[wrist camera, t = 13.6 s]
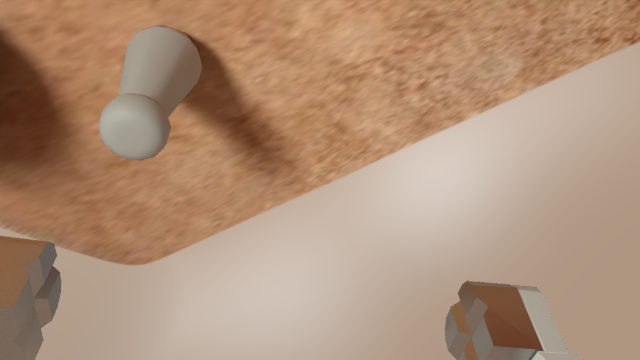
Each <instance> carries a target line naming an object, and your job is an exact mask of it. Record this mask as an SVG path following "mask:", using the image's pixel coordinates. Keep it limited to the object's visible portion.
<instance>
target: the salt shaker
mask: <svg viewBox="0 0 640 360" xmlns="http://www.w3.org/2000/svg"><path fill="white" fill-rule="evenodd" d="M201 71H202V64H201V60H200V56H199V52H198V49H197V48H196V47H195V45H194V44H193V43H192V41H191V40H190V39H189V37H188V36H187V35H186V33H184V32H181V31H178V30H175V29H173V28H169V27H166V26H163V25H161V26H153V27H150V28H147V29H144V30H141V31H139V32H138V33H137V34H136V36H135V37H134V38H133V39H132V40H131V41H130V42H129V43H128V45H127V50H126V55H125V62H124V67H123V73H122V79H121V85H120V90H119V96H118V97H116V98H114V99H113V100H112V101H111V102H110V103H109V104H108V105H107V106H106V107H105V108H104V110H103V111H102V114H101V119H100V126H99V133H100V135H101V138H102V141H103V143H104V144H105V145H106V146H107V147H108V148H109V149H110V150H111V151H112V152H113V153H115V154H117V155H119V156H122V157H124V158H126V159H131V160H145V159H149V158H152V157H155V156H156V155H157V154H158V153H159V152H160V151H161V150H162V149H163V148H164V147H165V145H166V144H167V140H168V137H169V133H170V128H171V126H170V122H169V119H168V117H169V116H170V115H171V113H172V112H173V111H174V110H175V108H176V107H177V106H178V105H179V104H180V103H181V101H182V100H183V99H184V98H185V97H186V96H187V94H188V93H189V92H190V91H191V90H192V89H193V87H194V86H195V85H196V84H197V83H198V80H199V77H200V74H201Z"/></svg>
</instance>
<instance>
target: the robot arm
mask: <svg viewBox="0 0 640 360" xmlns="http://www.w3.org/2000/svg"><path fill="white" fill-rule="evenodd" d="M56 257H57V254H56V250H55V245H54V243H51V242H46V241H38V240H29V239H20V238H12V237H4V236H0V360H35V358H36V355H37V353H38V351H39V349H40V346H41V344H42V342H43V336H42V332H41V328H42V327H43V326H45V325H46V324H47V323H49V322H50V321H51V320H52V319H53V316H54V314H55V312H56V309H57V307H58V302H59V298H60V293H61V278H60V272H59V271H58V270H57V269H56V268H54V267H53V266H52V265H53V263H54V261H55V259H56ZM458 294H459V297H460V301H459V302H458V303H456V304H454V305H453V306H452V307H451V308H450V310H449V313H448V315H447V317H446V325H445V337H446V343H447V347H448V351H449V352H450V353H451V354H452V355H453V356H454V357H455V358H456V359H457V360H583V359H581V358H580V357H579V356H578V355H577V354H571V353H569V351H568V349H567V347H566V345H565V343H564V341H563V338H562V336H561V334H560V332H559V330H558V328H557V325H556V323H555V321H554V319H553V317H552V315H551V313H550V310H549V309H548V306H547V304H546V302H545V300H544V298H543V295H542V293H541V291H540V290H539V289H538V288H536V287H530V286H518V285H509V284H497V283H484V282H472V281H466V282H465V283H464V284H462V286H461V288H460V290H459V292H458Z"/></svg>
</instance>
